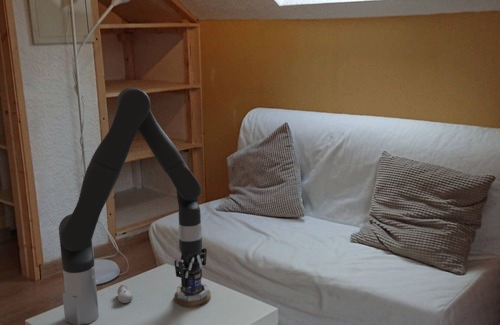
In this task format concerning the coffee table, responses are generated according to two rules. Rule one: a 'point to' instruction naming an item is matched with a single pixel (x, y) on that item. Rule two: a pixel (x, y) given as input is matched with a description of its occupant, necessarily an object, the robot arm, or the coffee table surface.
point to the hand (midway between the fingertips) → (191, 283)
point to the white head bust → (124, 294)
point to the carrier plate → (193, 304)
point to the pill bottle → (193, 280)
